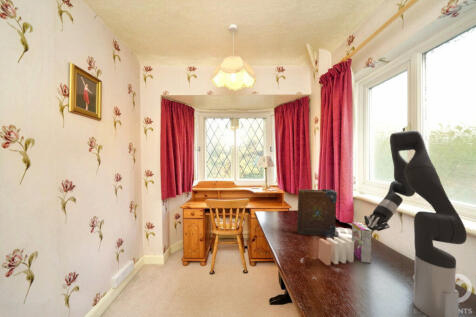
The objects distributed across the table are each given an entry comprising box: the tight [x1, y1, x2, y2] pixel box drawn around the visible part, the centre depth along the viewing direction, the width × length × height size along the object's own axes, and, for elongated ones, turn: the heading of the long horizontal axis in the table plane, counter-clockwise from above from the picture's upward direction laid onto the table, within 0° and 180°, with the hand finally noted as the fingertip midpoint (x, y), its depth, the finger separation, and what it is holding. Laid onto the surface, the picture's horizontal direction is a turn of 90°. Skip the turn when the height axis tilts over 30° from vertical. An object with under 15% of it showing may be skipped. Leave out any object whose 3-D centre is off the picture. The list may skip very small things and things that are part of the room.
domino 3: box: [340, 237, 355, 263], centre depth 90 cm, size 6×2×10 cm, turn 14°
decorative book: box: [296, 188, 338, 238], centre depth 119 cm, size 23×7×30 cm, turn 86°
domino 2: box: [325, 237, 339, 265], centre depth 88 cm, size 6×2×10 cm, turn 14°
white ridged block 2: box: [333, 236, 347, 264], centre depth 89 cm, size 6×2×10 cm, turn 14°
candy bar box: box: [351, 221, 373, 264], centre depth 92 cm, size 11×5×16 cm, turn 168°
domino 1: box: [318, 238, 332, 266], centre depth 87 cm, size 6×2×10 cm, turn 14°
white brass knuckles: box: [335, 227, 352, 240], centre depth 118 cm, size 3×18×15 cm
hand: (366, 233), depth 93 cm, fingers closed
